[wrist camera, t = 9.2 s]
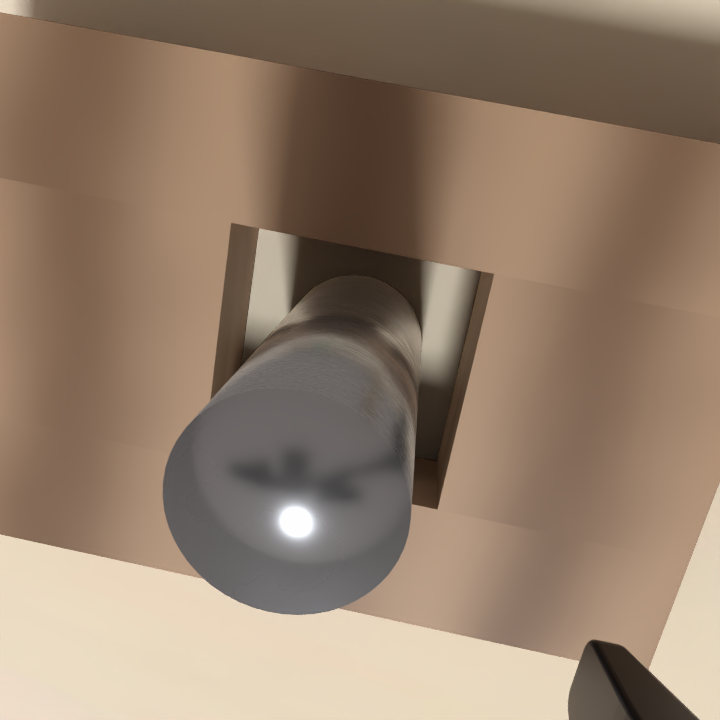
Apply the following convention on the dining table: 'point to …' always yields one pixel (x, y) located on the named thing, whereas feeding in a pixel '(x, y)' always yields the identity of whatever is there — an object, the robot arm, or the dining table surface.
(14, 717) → the dining table surface
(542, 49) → the dining table surface
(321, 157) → the board
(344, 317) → the long pin
